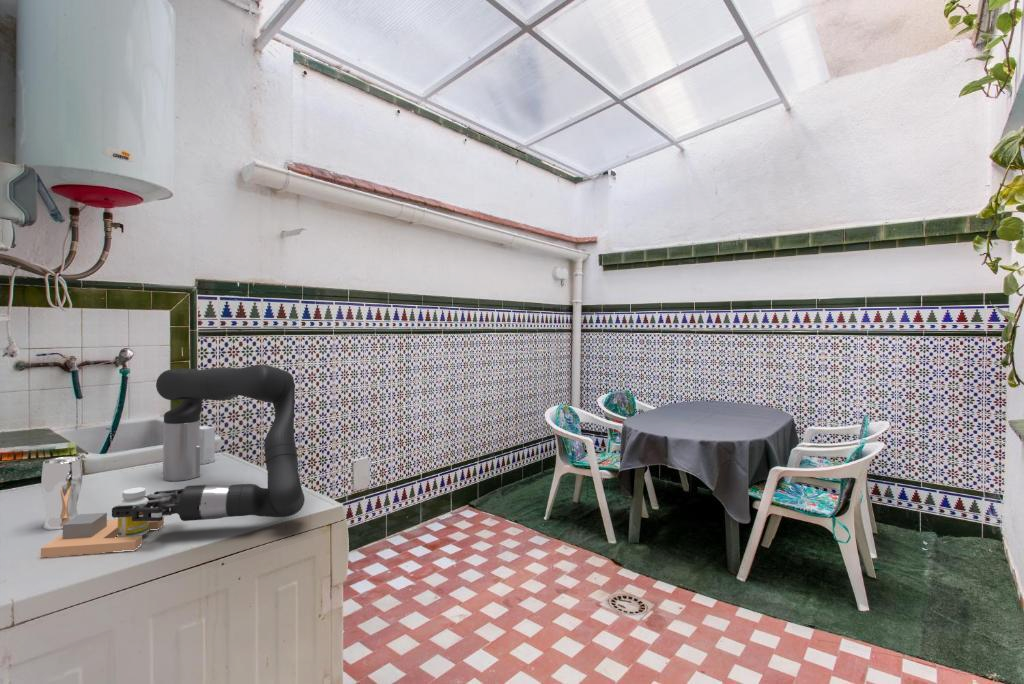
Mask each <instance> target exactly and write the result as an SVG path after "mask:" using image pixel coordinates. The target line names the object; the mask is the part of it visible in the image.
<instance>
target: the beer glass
mask: <svg viewBox="0 0 1024 684" xmlns="http://www.w3.org/2000/svg"><path fill="white" fill-rule="evenodd" d="M40 481H41V492H42V495H43V496H42V497H43V501H44V505H45V519H44V523H43V527H42V528H43V529H44V530H46V531H56V530H63V524H65V523H66V522H68V521H70V520H71V519H73V518H75V517H76V516H78V515H79V514H78V501H79V497H80V493H81V490H82V489H81V488H82V484H83V465H82V457H81V456H61V457H55V458H50V459H46V460H44V461H43V462H42V469H41V480H40Z"/></svg>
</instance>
